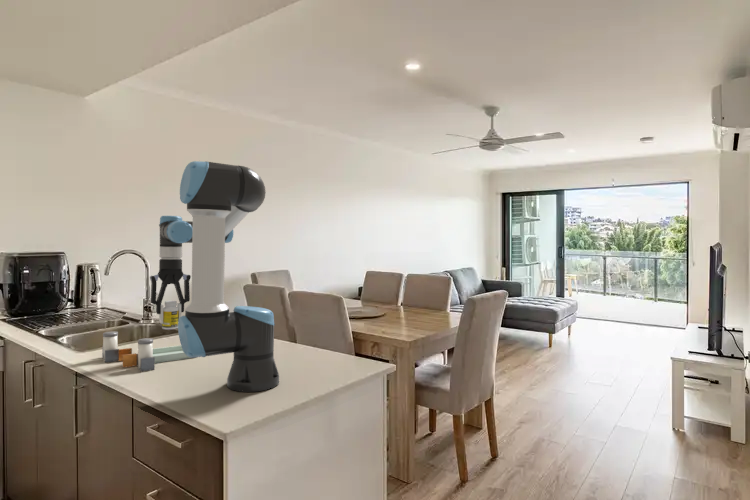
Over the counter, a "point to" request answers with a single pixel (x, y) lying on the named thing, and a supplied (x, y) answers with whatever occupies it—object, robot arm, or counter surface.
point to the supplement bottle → (170, 315)
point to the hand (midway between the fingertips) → (170, 322)
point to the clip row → (129, 358)
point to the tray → (169, 354)
